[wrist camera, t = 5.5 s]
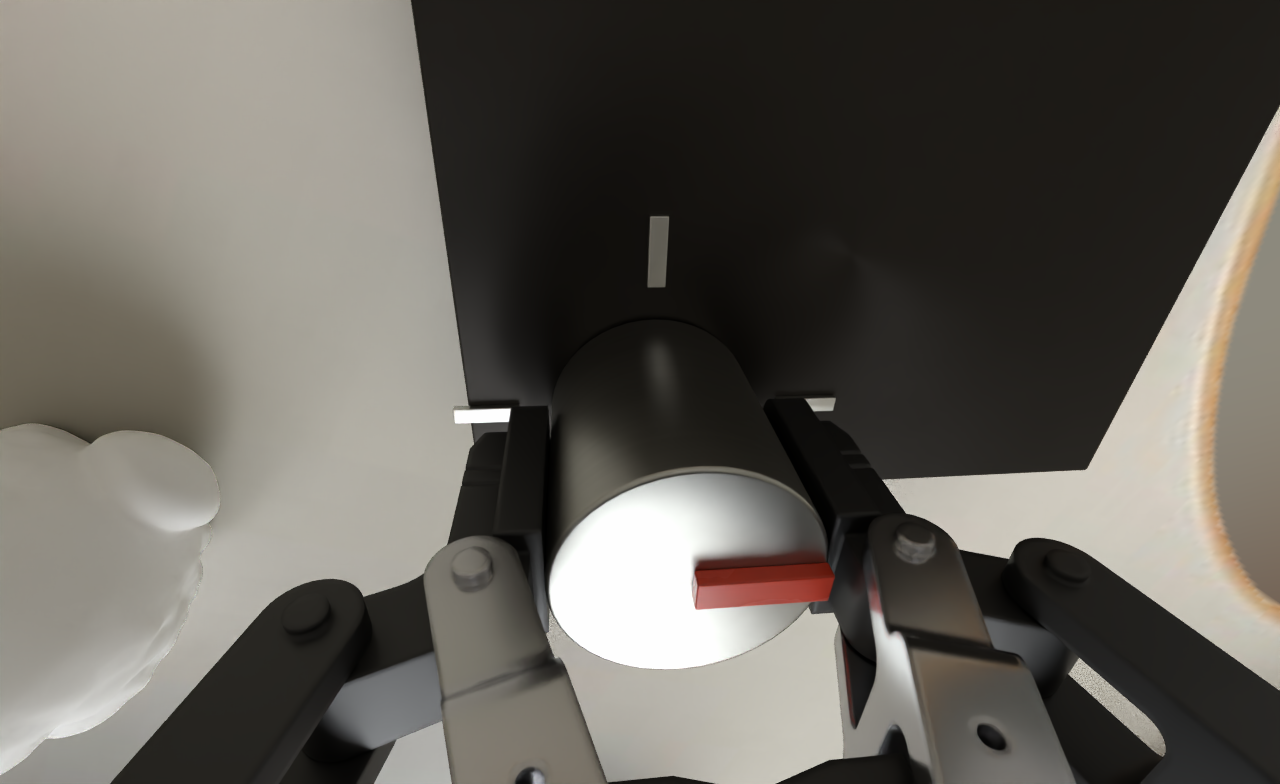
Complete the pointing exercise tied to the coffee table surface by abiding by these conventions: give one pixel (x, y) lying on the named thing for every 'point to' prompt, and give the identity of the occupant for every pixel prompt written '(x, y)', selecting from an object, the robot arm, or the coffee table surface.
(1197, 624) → the coffee table surface
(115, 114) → the coffee table surface
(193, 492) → the rabbit
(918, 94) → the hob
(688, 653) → the knob
